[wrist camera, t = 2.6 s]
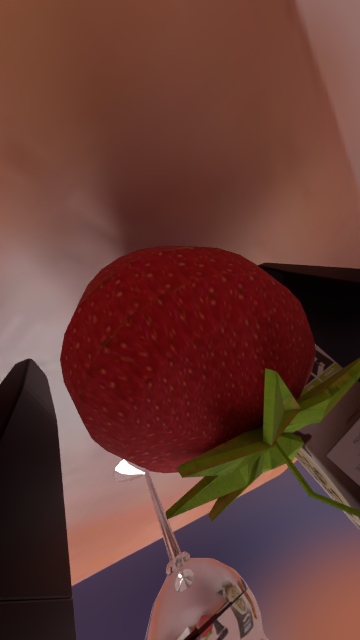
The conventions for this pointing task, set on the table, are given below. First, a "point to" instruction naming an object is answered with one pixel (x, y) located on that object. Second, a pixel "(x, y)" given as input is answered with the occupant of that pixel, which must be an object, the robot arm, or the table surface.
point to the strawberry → (197, 370)
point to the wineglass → (196, 589)
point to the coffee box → (334, 440)
